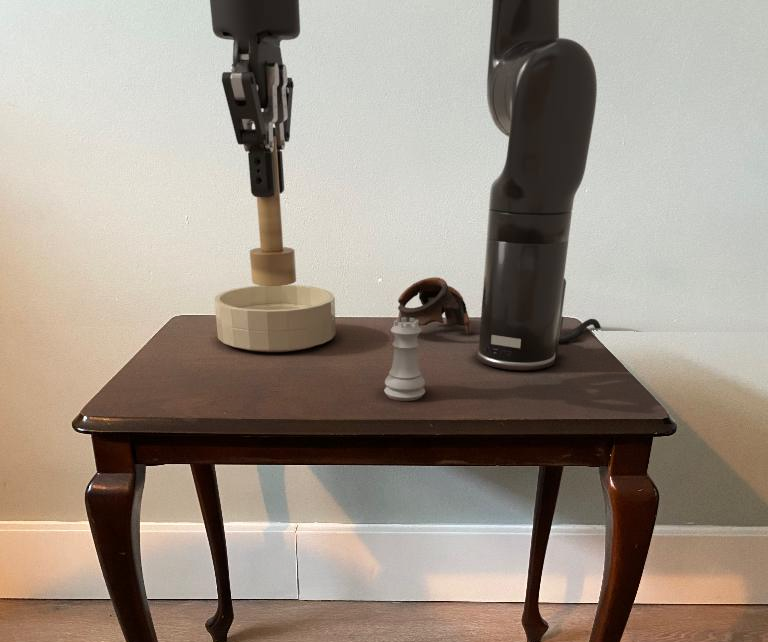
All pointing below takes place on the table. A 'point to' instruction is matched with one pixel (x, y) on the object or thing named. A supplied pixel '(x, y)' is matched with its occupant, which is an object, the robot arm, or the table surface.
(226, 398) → the table surface
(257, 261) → the muddler
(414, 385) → the rook chess piece
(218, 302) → the bowl
